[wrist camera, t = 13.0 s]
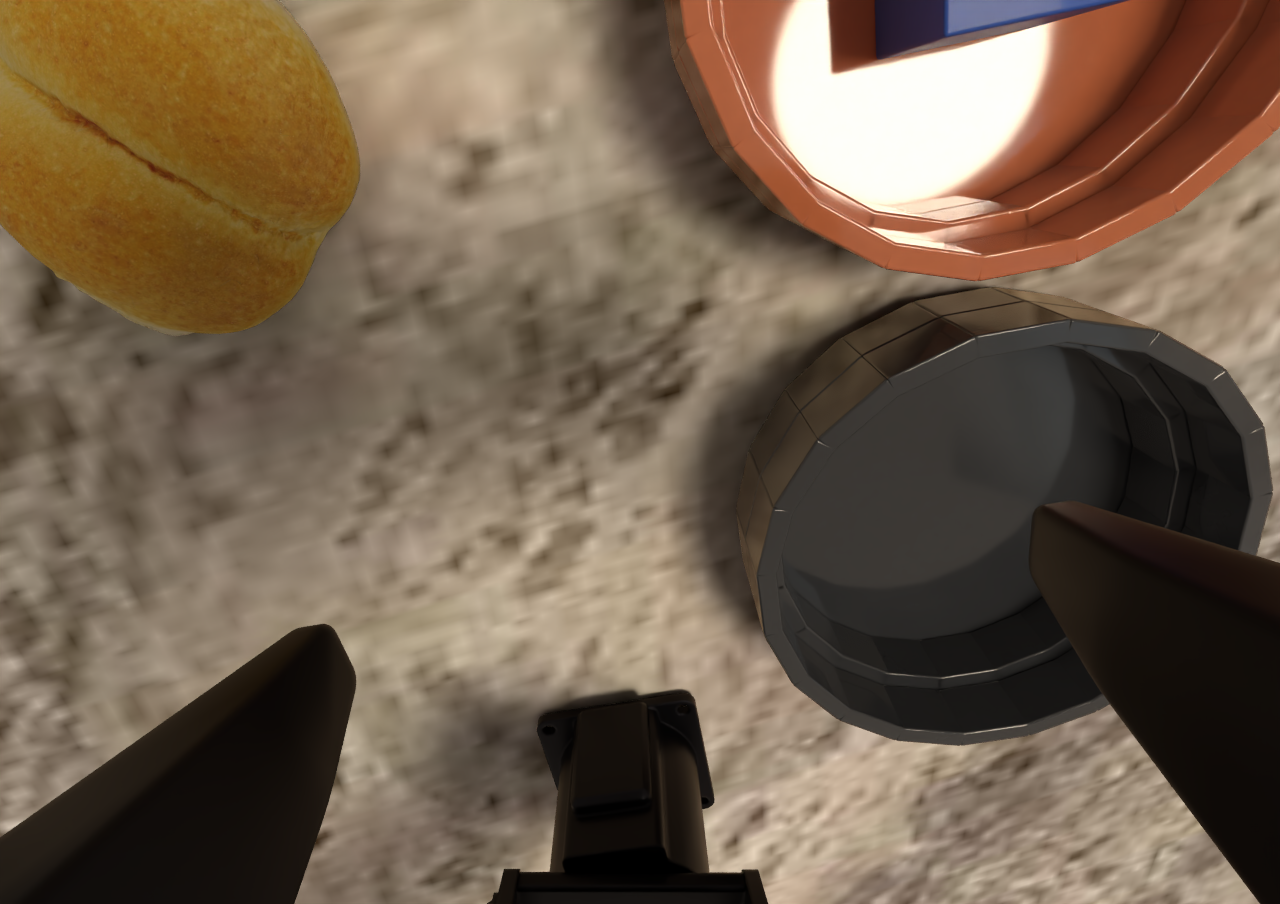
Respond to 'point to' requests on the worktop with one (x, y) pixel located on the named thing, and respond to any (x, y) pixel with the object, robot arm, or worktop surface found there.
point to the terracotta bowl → (980, 124)
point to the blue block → (964, 20)
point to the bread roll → (171, 154)
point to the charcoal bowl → (975, 502)
